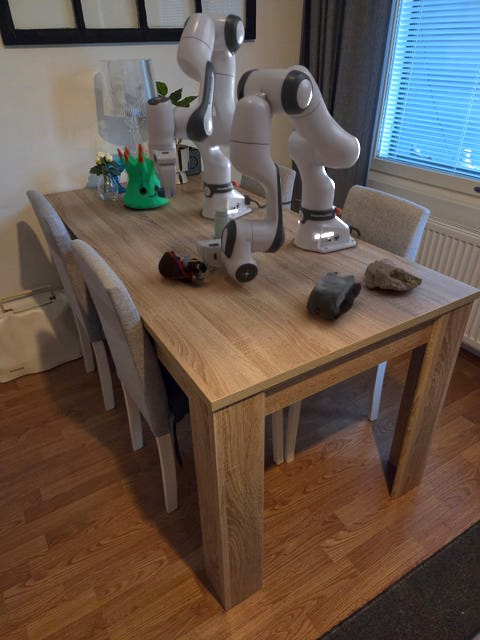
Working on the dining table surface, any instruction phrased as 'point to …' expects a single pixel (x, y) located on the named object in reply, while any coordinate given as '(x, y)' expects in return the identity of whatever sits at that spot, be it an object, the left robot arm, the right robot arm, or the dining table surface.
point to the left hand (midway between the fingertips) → (166, 195)
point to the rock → (333, 295)
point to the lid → (161, 192)
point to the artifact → (389, 276)
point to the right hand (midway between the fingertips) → (221, 237)
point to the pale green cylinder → (220, 221)
